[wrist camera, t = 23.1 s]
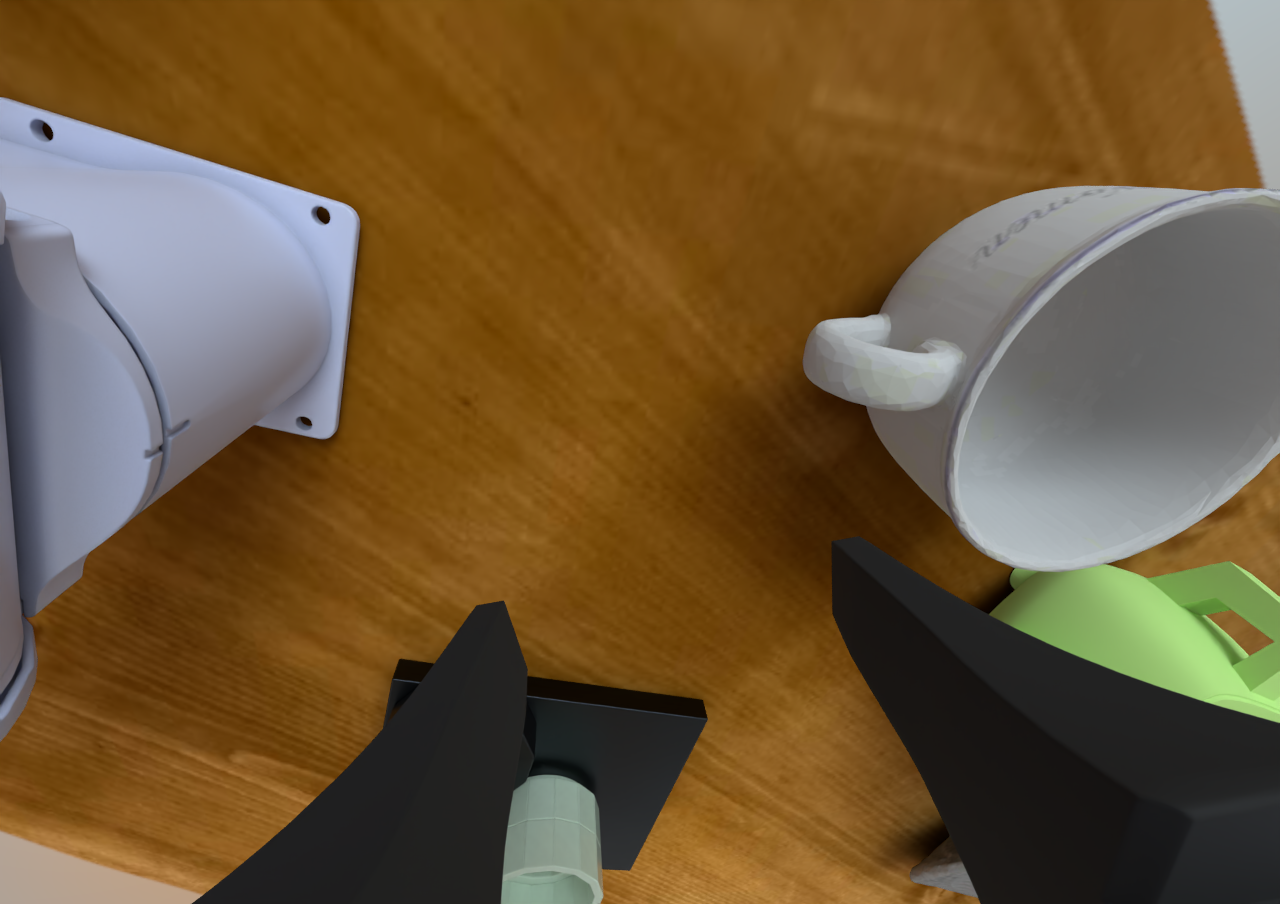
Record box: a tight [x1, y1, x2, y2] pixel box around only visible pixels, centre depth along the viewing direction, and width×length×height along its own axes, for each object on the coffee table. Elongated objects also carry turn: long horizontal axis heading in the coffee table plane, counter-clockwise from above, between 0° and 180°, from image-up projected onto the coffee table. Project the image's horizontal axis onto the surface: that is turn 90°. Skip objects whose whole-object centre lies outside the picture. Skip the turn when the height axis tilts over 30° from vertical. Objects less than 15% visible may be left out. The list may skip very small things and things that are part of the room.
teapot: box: [989, 561, 1280, 723], centre depth 25 cm, size 12×12×10 cm
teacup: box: [803, 186, 1280, 572], centre depth 18 cm, size 14×11×8 cm
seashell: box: [910, 836, 978, 898], centre depth 35 cm, size 12×6×10 cm
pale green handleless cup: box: [501, 775, 603, 904], centre depth 27 cm, size 6×6×4 cm
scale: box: [383, 659, 708, 871], centre depth 28 cm, size 15×14×3 cm
